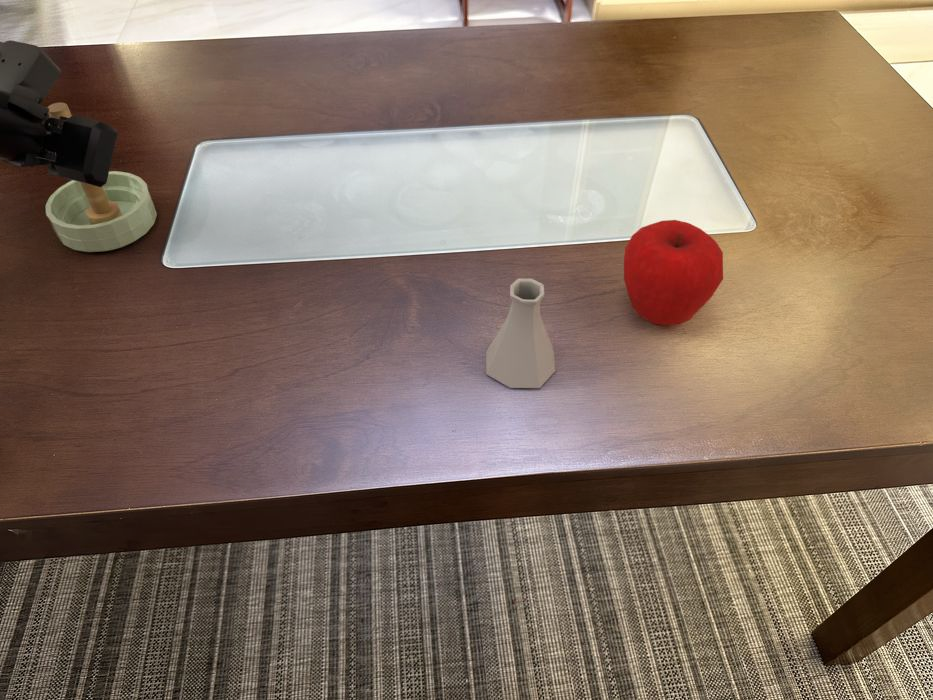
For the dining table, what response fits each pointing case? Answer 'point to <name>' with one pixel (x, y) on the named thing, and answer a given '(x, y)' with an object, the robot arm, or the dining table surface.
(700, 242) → the apple
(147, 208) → the bowl
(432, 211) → the dining table surface
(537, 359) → the flask
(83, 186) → the tan wooden rod
